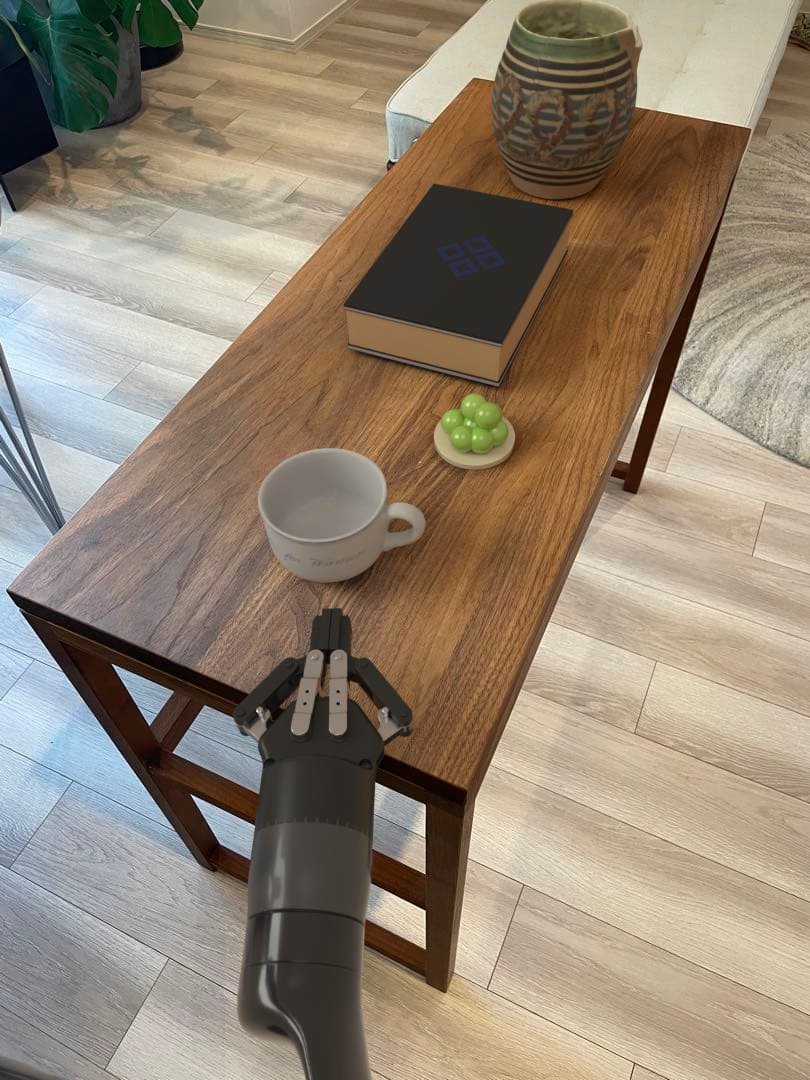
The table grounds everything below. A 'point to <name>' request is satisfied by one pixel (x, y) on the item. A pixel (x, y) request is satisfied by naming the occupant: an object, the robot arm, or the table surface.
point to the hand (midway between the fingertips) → (333, 614)
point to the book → (460, 283)
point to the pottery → (565, 95)
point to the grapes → (474, 434)
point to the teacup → (331, 514)
